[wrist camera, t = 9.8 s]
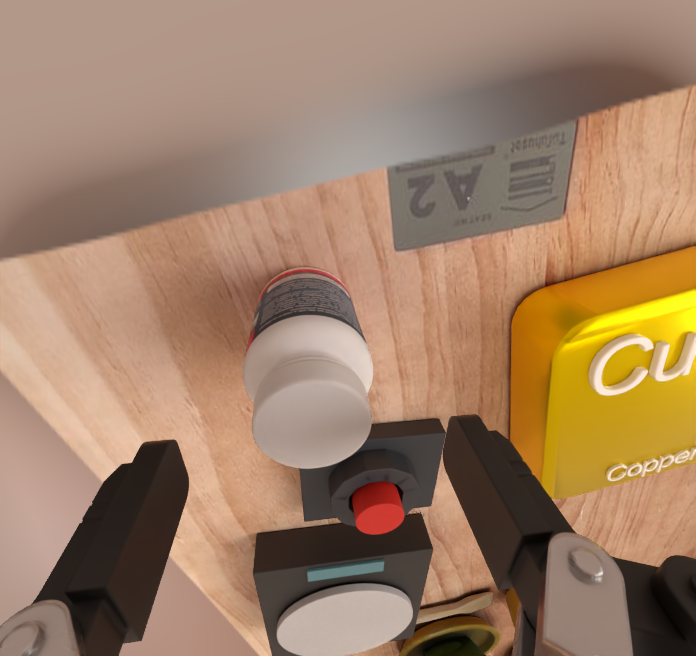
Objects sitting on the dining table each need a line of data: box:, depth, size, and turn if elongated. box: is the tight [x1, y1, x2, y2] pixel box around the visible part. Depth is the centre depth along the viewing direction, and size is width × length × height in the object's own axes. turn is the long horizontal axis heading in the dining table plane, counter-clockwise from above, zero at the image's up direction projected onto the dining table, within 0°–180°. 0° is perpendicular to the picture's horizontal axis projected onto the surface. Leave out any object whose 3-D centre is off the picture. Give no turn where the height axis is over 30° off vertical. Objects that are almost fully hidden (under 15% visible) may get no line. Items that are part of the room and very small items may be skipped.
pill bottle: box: [243, 267, 373, 469], centre depth 15 cm, size 5×5×9 cm
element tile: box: [510, 246, 696, 499], centre depth 22 cm, size 15×15×5 cm
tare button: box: [352, 481, 404, 535], centre depth 23 cm, size 3×3×2 cm
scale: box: [253, 514, 433, 656], centre depth 31 cm, size 14×16×4 cm
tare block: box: [300, 419, 446, 527], centre depth 24 cm, size 10×8×3 cm
